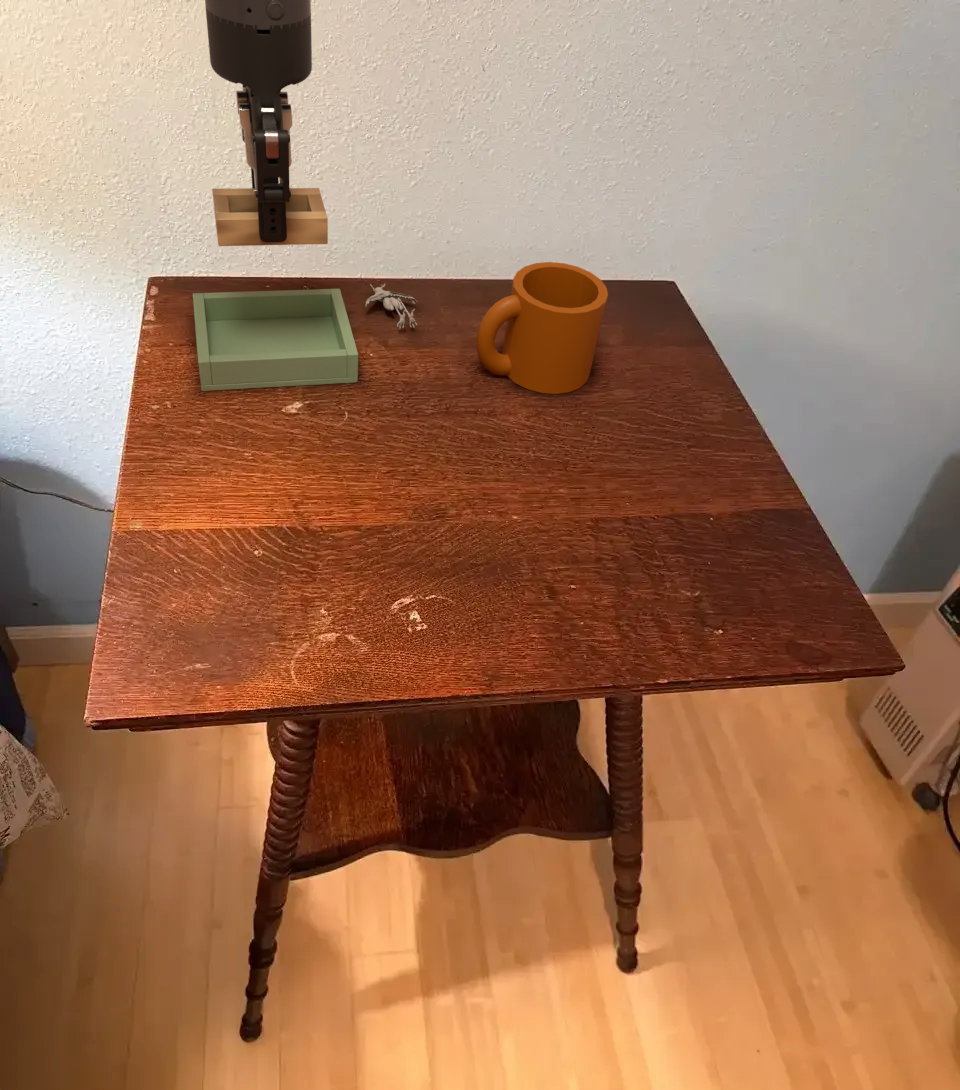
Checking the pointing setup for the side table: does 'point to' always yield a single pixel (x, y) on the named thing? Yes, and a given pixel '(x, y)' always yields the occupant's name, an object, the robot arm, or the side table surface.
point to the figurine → (393, 303)
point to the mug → (545, 328)
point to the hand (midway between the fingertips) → (269, 222)
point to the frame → (241, 218)
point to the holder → (273, 339)
